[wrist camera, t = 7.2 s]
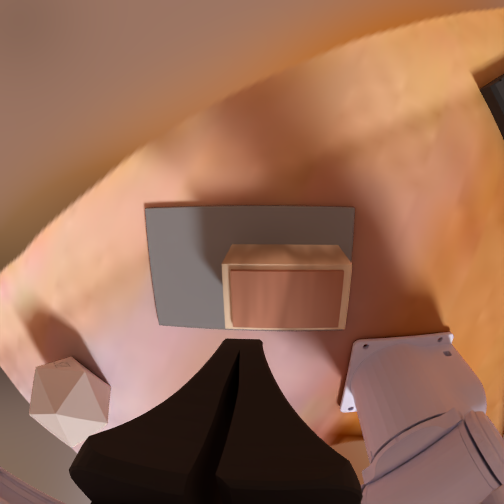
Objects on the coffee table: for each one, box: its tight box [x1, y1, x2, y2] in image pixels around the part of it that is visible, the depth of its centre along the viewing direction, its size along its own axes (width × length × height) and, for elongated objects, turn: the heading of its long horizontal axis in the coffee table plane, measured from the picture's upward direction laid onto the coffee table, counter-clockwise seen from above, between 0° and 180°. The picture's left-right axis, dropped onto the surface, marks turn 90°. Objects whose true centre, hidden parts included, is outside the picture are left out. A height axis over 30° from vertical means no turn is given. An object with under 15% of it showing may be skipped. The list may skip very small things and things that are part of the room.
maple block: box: [222, 244, 352, 330], centre depth 18 cm, size 4×4×7 cm
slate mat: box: [145, 205, 355, 331], centre depth 21 cm, size 14×9×1 cm, turn 91°
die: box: [29, 356, 111, 448], centre depth 22 cm, size 8×9×10 cm
